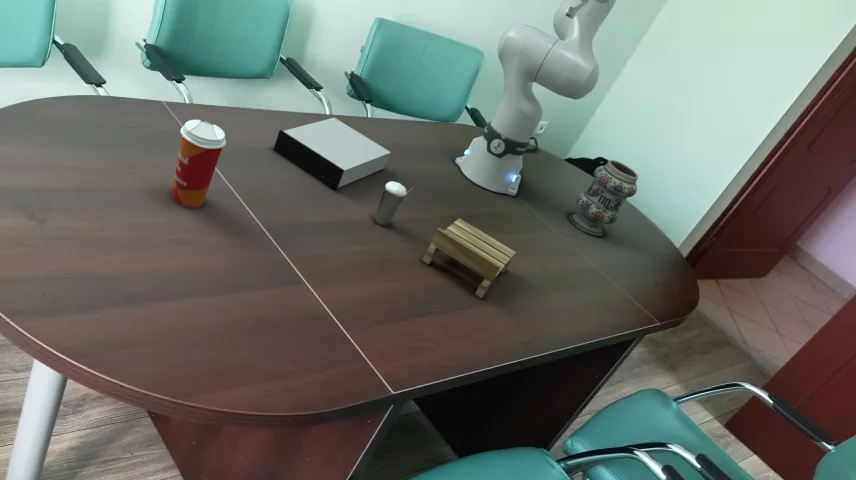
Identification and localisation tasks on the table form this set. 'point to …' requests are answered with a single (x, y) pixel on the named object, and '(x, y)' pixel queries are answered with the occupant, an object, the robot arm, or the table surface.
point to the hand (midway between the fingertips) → (547, 6)
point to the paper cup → (196, 161)
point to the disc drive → (331, 152)
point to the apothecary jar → (604, 197)
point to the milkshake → (390, 202)
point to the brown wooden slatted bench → (471, 251)
